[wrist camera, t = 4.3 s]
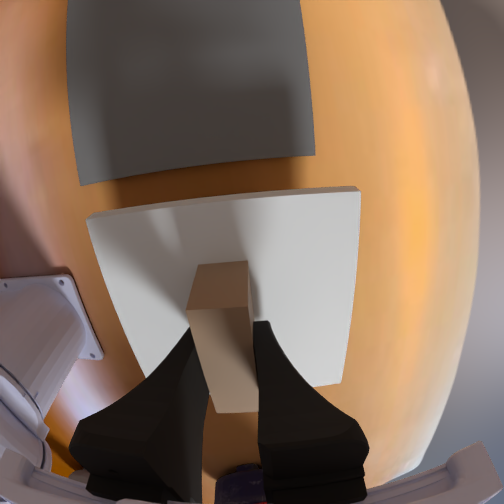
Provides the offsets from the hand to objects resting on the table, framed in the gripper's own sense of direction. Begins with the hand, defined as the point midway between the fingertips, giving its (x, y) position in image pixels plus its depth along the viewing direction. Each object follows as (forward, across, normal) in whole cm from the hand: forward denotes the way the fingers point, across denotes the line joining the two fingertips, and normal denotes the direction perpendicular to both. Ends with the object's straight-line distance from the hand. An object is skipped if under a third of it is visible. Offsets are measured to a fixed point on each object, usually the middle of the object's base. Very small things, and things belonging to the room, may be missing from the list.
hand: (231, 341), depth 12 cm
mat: (+7, +2, -14) cm, 15 cm away
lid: (+2, 0, 0) cm, 2 cm away
